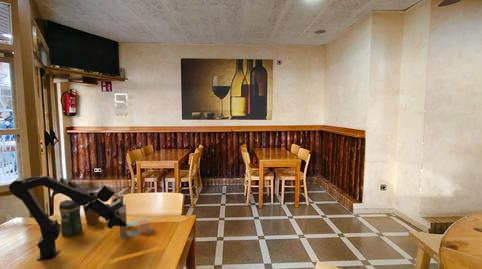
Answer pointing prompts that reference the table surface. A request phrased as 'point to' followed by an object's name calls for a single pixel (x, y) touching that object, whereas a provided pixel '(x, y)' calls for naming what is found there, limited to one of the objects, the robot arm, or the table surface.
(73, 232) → the coffee jar
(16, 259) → the table surface
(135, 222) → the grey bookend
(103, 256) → the table surface
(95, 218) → the disposable coffee cup
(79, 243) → the table surface
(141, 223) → the terracotta cube
